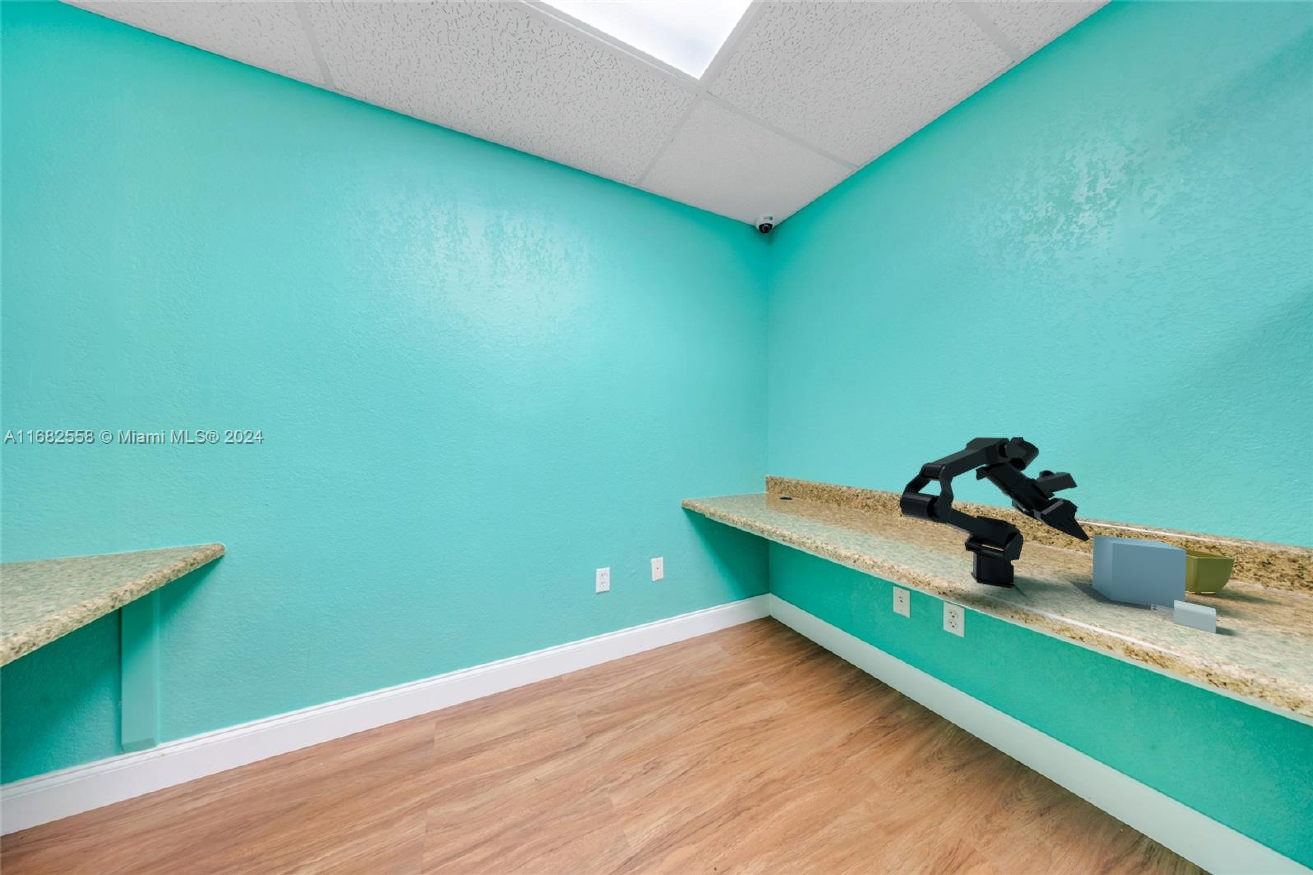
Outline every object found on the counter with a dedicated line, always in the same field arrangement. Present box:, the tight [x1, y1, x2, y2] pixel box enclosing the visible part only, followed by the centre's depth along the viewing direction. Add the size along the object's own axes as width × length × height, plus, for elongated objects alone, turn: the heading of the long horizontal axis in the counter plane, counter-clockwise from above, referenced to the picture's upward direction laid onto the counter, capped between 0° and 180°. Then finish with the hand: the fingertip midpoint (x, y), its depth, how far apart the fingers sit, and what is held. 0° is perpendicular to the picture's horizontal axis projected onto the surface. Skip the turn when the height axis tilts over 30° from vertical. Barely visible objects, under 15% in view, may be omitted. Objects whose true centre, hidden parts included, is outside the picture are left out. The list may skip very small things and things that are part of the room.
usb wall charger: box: [1150, 600, 1217, 634], centre depth 70 cm, size 4×7×4 cm, turn 36°
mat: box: [1067, 580, 1221, 622], centre depth 80 cm, size 16×13×1 cm
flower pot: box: [1177, 546, 1236, 593], centre depth 86 cm, size 9×9×9 cm
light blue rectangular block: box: [1091, 534, 1186, 609], centre depth 80 cm, size 10×7×12 cm
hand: (1076, 535), depth 85 cm, fingers open, 9 cm apart
